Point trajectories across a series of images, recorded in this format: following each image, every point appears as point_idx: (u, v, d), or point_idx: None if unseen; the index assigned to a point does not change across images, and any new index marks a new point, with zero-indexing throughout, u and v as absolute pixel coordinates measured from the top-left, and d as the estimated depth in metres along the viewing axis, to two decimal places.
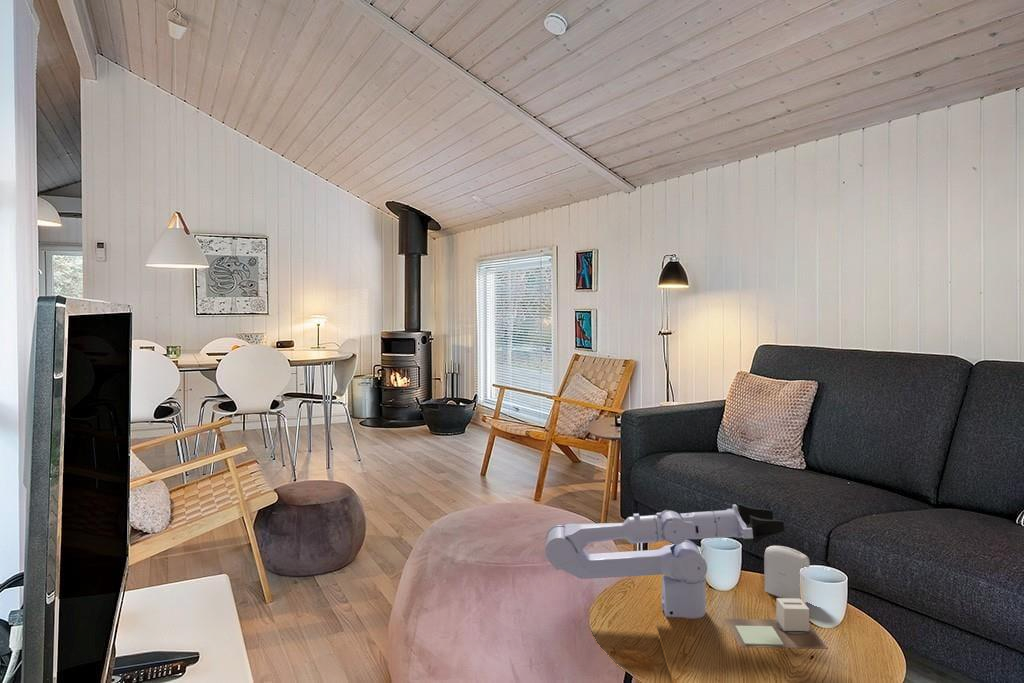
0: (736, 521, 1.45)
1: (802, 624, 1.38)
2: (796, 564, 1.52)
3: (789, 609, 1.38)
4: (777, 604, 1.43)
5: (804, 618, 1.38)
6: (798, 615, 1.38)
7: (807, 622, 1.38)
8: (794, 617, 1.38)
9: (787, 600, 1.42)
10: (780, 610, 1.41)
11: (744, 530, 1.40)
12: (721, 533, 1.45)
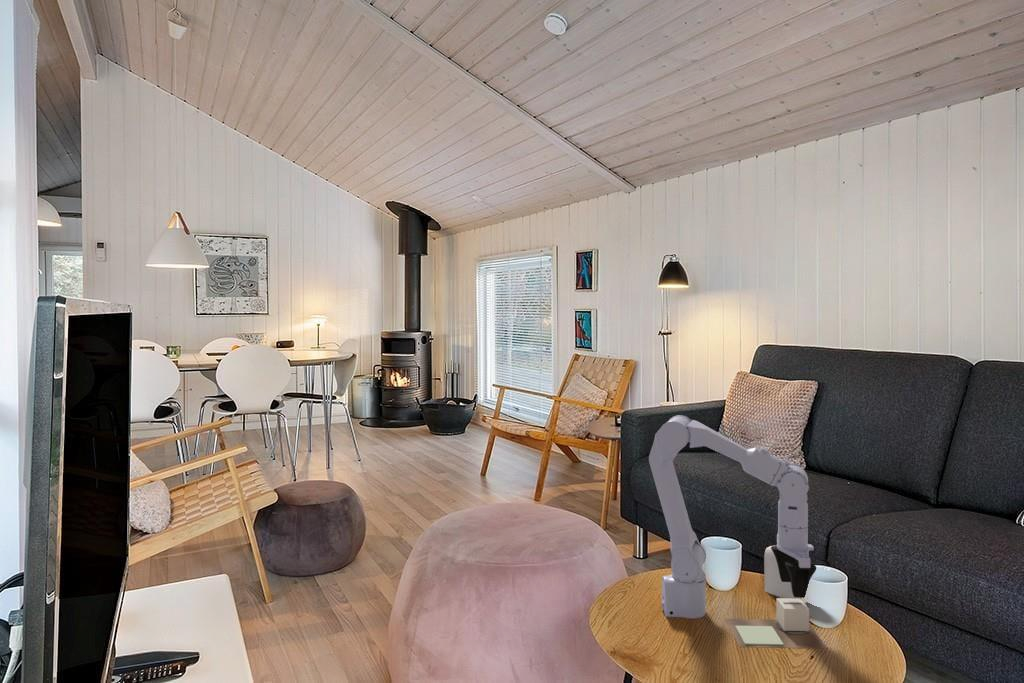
0: (803, 549, 1.37)
1: (802, 624, 1.38)
2: None
3: (789, 609, 1.38)
4: (777, 604, 1.43)
5: (804, 618, 1.38)
6: (798, 615, 1.38)
7: (807, 622, 1.38)
8: (794, 617, 1.38)
9: (787, 600, 1.42)
10: (780, 610, 1.41)
11: (809, 559, 1.33)
12: (791, 532, 1.37)
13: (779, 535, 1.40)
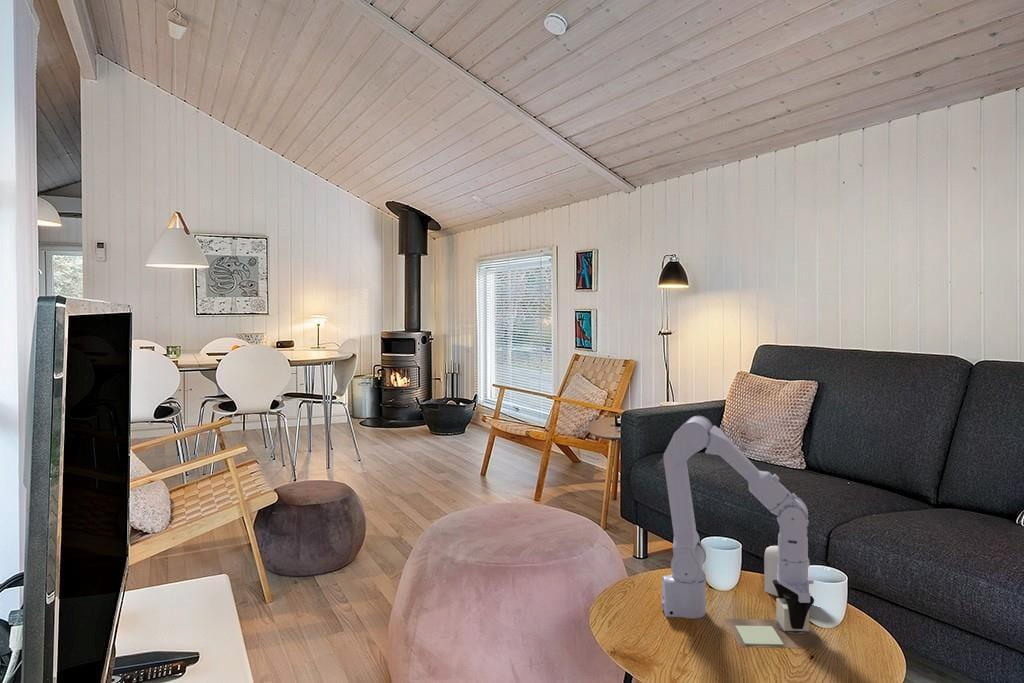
0: (803, 582, 1.37)
1: None
2: None
3: None
4: (777, 604, 1.43)
5: None
6: None
7: (807, 622, 1.38)
8: None
9: None
10: (780, 610, 1.41)
11: (809, 594, 1.33)
12: (790, 566, 1.38)
13: (779, 568, 1.40)
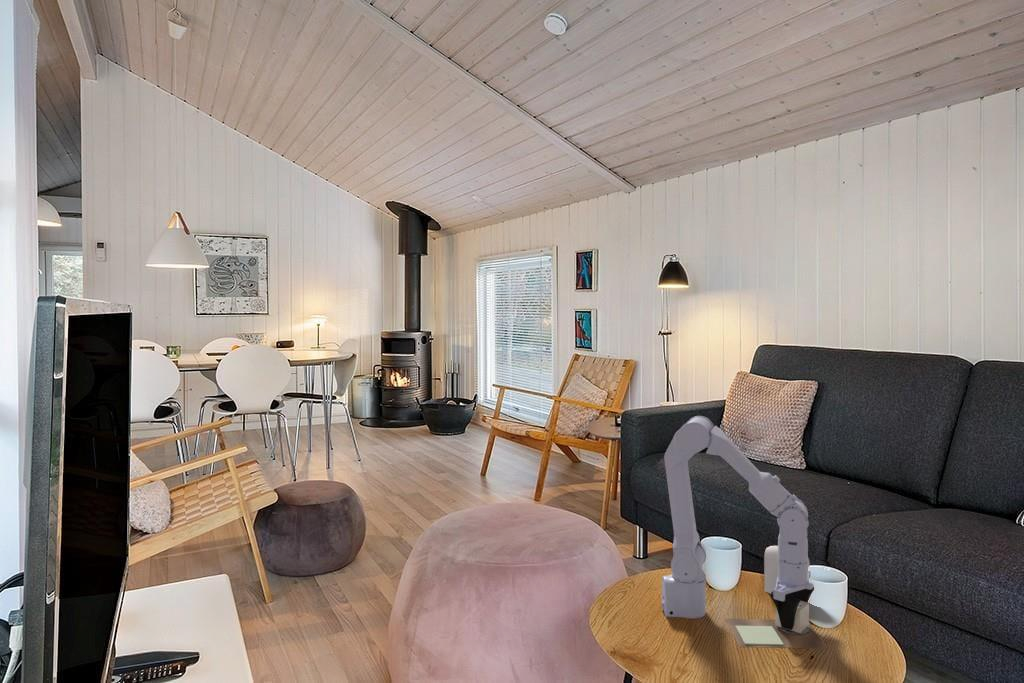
0: (793, 584, 1.37)
1: None
2: None
3: None
4: None
5: (795, 619, 1.38)
6: None
7: (798, 624, 1.37)
8: None
9: None
10: None
11: (782, 593, 1.34)
12: (781, 565, 1.39)
13: None
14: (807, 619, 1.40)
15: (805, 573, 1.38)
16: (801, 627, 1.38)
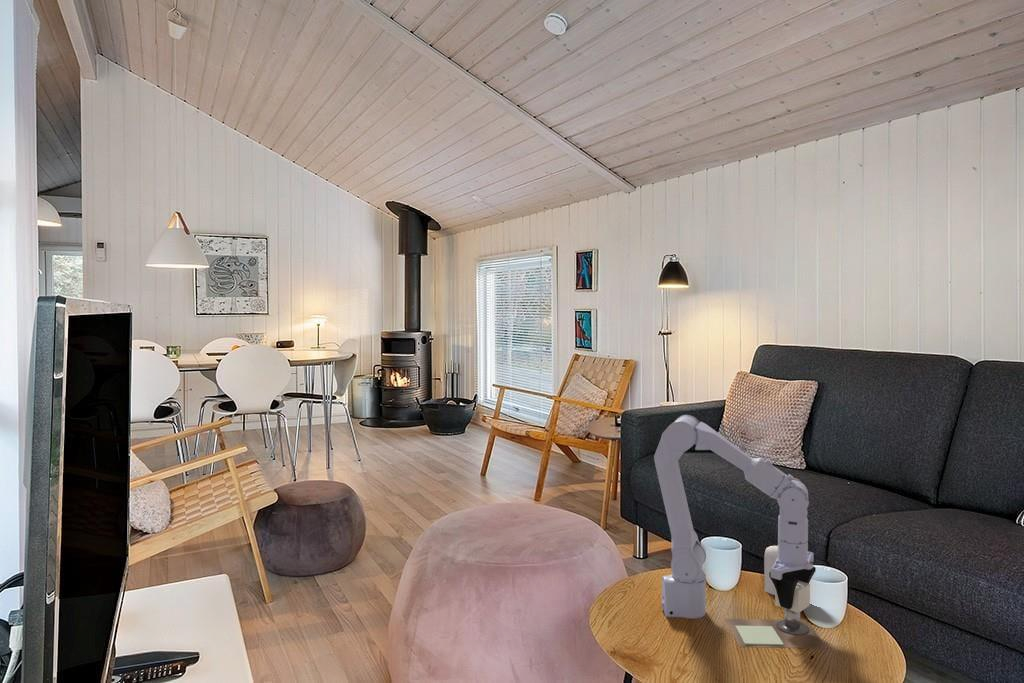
0: (792, 564, 1.37)
1: (792, 604, 1.38)
2: None
3: None
4: None
5: (794, 598, 1.38)
6: None
7: (796, 603, 1.37)
8: None
9: None
10: None
11: (778, 571, 1.35)
12: (781, 545, 1.39)
13: None
14: (807, 600, 1.40)
15: (804, 553, 1.37)
16: (800, 607, 1.37)
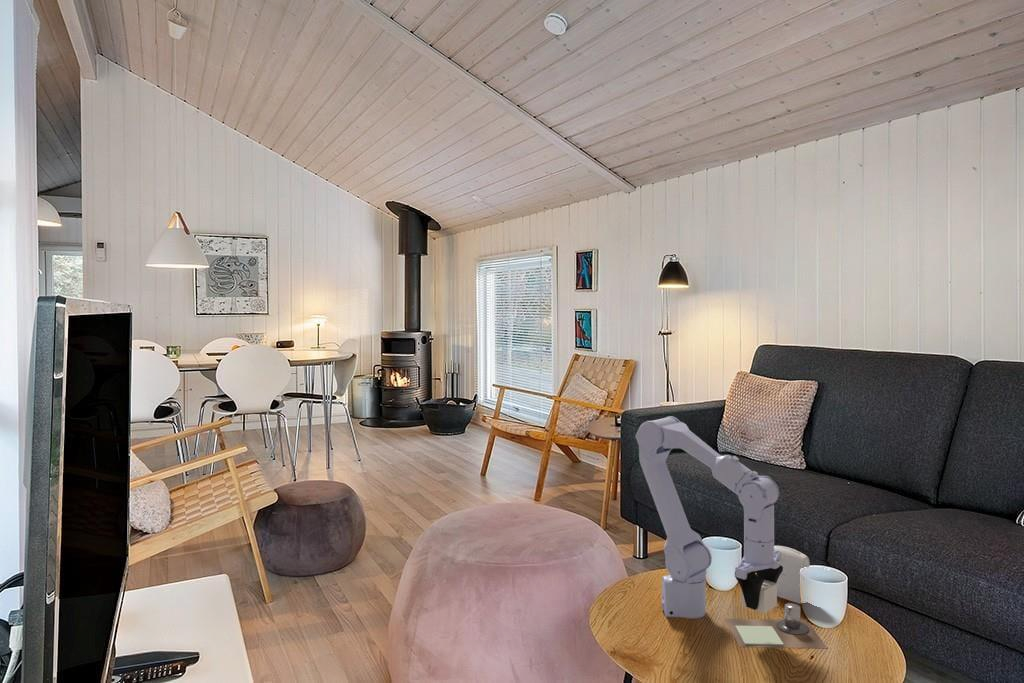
0: (757, 563, 1.34)
1: (758, 604, 1.34)
2: (796, 564, 1.52)
3: None
4: None
5: (759, 598, 1.34)
6: None
7: (762, 603, 1.34)
8: None
9: None
10: None
11: (743, 571, 1.31)
12: (746, 543, 1.36)
13: None
14: (774, 600, 1.36)
15: (770, 552, 1.34)
16: (766, 607, 1.34)
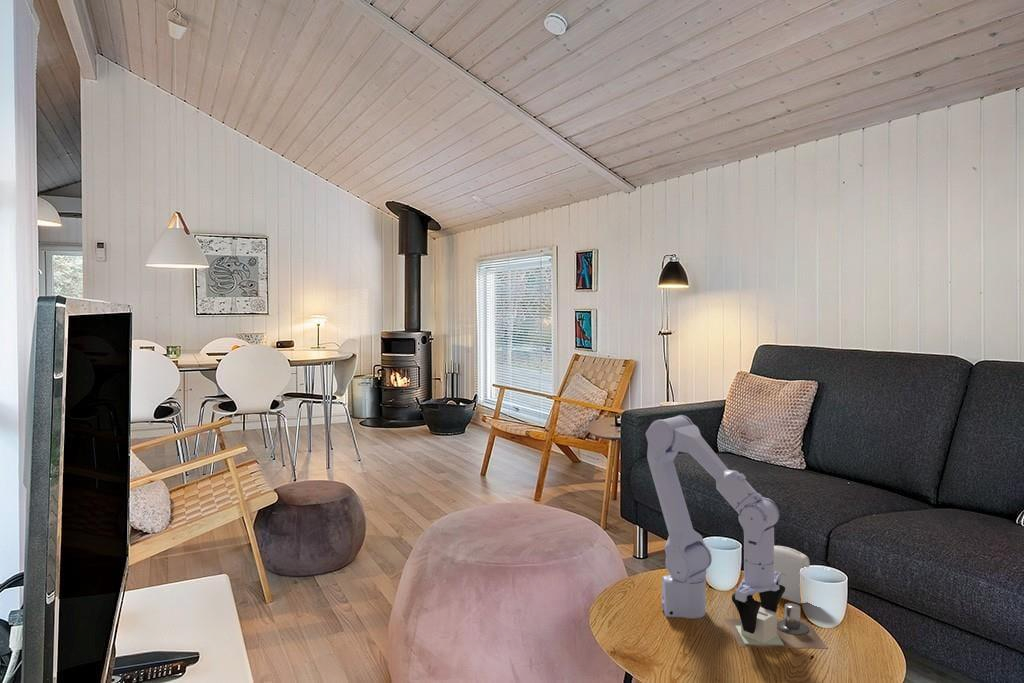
0: (757, 585, 1.34)
1: (757, 634, 1.35)
2: (796, 564, 1.52)
3: None
4: None
5: (759, 628, 1.34)
6: None
7: (762, 633, 1.34)
8: None
9: (760, 609, 1.38)
10: None
11: (743, 593, 1.31)
12: (746, 565, 1.36)
13: None
14: (774, 629, 1.36)
15: (770, 574, 1.34)
16: (765, 637, 1.34)
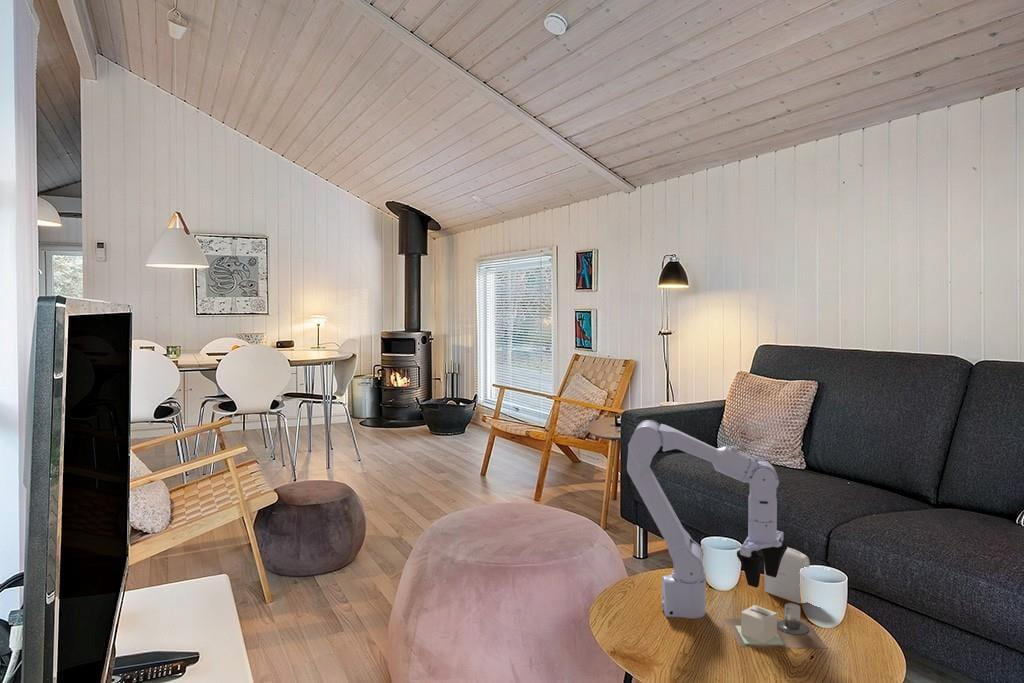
0: (761, 542, 1.42)
1: (757, 634, 1.35)
2: (796, 564, 1.52)
3: (746, 614, 1.37)
4: None
5: (759, 628, 1.34)
6: (753, 623, 1.35)
7: (762, 633, 1.34)
8: (750, 624, 1.36)
9: (760, 609, 1.38)
10: None
11: (747, 549, 1.39)
12: (751, 523, 1.43)
13: None
14: (774, 629, 1.36)
15: (773, 531, 1.42)
16: (765, 637, 1.34)
